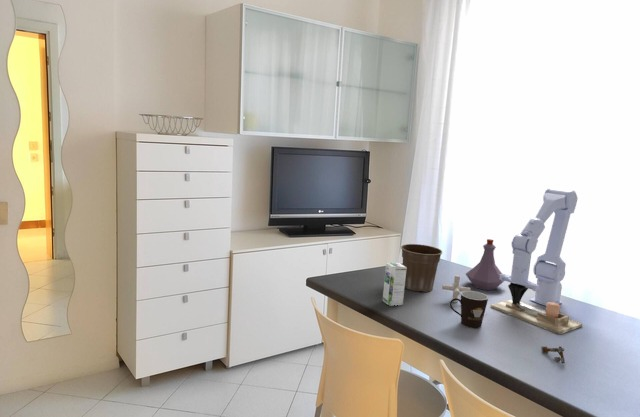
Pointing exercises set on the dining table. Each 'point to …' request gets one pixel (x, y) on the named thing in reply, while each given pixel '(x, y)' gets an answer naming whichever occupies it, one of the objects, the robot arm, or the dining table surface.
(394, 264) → the syrup box
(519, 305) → the lock pin
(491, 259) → the flask
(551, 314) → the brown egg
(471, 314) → the coffee mug
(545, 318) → the dock
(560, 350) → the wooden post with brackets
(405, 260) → the plant pot
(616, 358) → the dining table surface
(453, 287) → the pipe connector
